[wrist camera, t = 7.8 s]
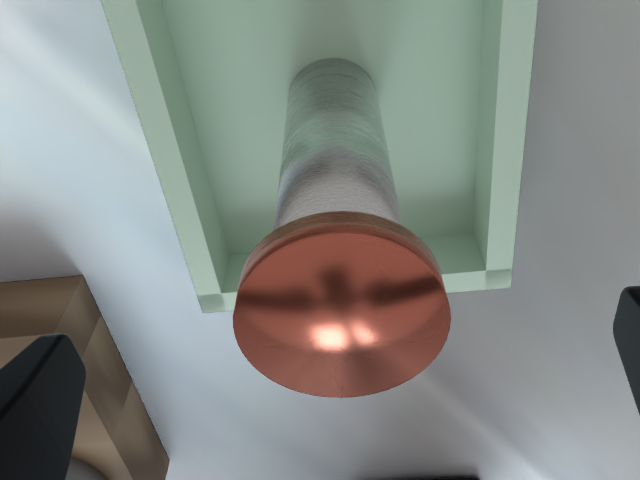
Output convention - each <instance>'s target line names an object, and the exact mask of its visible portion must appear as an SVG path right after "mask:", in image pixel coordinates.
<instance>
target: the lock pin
mask: <svg viewBox="0 0 640 480" xmlns="http://www.w3.org/2000/svg"><path fill="white" fill-rule="evenodd" d="M450 321H451V316H450V307H449V303H448V299H447V295H446V291H445V287H444V283H443V279H442V275H441V271H440V268H439V265H438V263H437V261H436V258H435V256H434V255H433V253H432V252H431V250H430V249H429V247H428V246H427V245H426V244H425V243H424V242H423V241H422V240H421V239H420V238H419V237H418V236H416V235H415V234H414V233H413V232H411V231H410V230H408V229H407V228H405V227H403V226H402V221H401V216H400V211H399V205H398V200H397V195H396V190H395V185H394V179H393V174H392V169H391V164H390V158H389V153H388V148H387V143H386V138H385V132H384V127H383V122H382V117H381V111H380V106H379V101H378V96H377V91H376V87H375V85H374V82H373V80H372V79H371V77H370V76H369V74H368V73H367V72H366V71H365V70H364V69H363V68H362V67H360V66H359V65H357V64H356V63H354V62H352V61H349V60H346V59H341V58H326V59H321V60H318V61H315V62H313V63H311V64H309V65H308V66H306V67H305V68H304V69H302V70H301V71H300V72H299V73H298V74H297V76H296V77H295V79H294V80H293V82H292V84H291V87H290V90H289V95H288V103H287V112H286V121H285V130H284V139H283V148H282V157H281V167H280V176H279V185H278V194H277V203H276V212H275V221H274V230H273V232H271V233H270V234H269V235H267V236H266V237H265V238H264V239H263V240H262V241H261V242H260V243H258V244H257V245H256V247H255V248H254V249H253V250H252V252H251V253H250V254H249V256H248V258H247V260H246V261H245V263H244V265H243V268H242V271H241V274H240V279H239V285H238V291H237V297H236V303H235V308H234V314H233V328H234V333H235V337H236V340H237V343H238V345H239V347H240V349H241V351H242V353H243V354H244V356H245V357H246V358H247V360H248V361H249V362H250V363H251V364H252V365H253V366H254V367H255V368H256V369H257V370H258V371H259V372H261V373H262V374H263V375H265V376H266V377H267V378H269V379H271V380H272V381H274V382H276V383H278V384H280V385H282V386H284V387H287V388H289V389H292V390H295V391H298V392H301V393H305V394H310V395H315V396H322V397H335V398H342V397H357V396H365V395H370V394H374V393H378V392H382V391H385V390H388V389H391V388H393V387H396V386H398V385H400V384H402V383H404V382H406V381H408V380H410V379H411V378H413V377H414V376H416V375H417V374H419V373H420V372H421V371H423V370H424V369H425V368H426V367H427V366H428V365H429V364H430V363H431V362H432V361H433V360H434V359H435V358H436V357H437V355H438V354H439V352H440V351H441V349H442V348H443V346H444V343H445V341H446V339H447V336H448V333H449V329H450Z"/></svg>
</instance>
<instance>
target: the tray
mask: <svg viewBox="0 0 640 480" xmlns="http://www.w3.org/2000/svg"><path fill="white" fill-rule="evenodd" d="M101 3H102V6H103V9H104V12H105V15H106V18H107V21H108V24H109V28H110V31H111V34H112V37H113V40H114V43H115V46H116V49H117V52H118V55H119V58H120V61H121V64H122V67H123V70H124V74H125V77H126V80H127V83H128V86H129V89H130V92H131V95H132V98H133V101H134V104H135V107H136V110H137V113H138V116H139V120H140V123H141V126H142V129H143V132H144V135H145V138H146V141H147V144H148V147H149V150H150V153H151V156H152V159H153V162H154V166H155V169H156V172H157V175H158V178H159V181H160V184H161V187H162V190H163V193H164V196H165V199H166V202H167V205H168V208H169V211H170V215H171V218H172V221H173V224H174V227H175V230H176V233H177V236H178V239H179V242H180V245H181V248H182V251H183V254H184V257H185V261H186V264H187V267H188V270H189V273H190V276H191V279H192V282H193V285H194V288H195V291H196V294H197V297H198V300H199V303H200V307H201V310H202V313H213V312H225V311H234V308H235V303H236V297H237V291H238V285H239V279H240V274H241V271H242V268H243V265H244V263H245V261H246V260H247V258H248V256H249V254H250V253H251V252H252V250H253V249H254V248H255V247H256V245H257V244H258V243H260V242H261V241H262V240H263V239H264V238H265V237H266V236H267V235H269V234H270V233H271V232H273V230H274V221H275V212H276V203H277V194H278V185H279V176H280V167H281V157H282V148H283V139H284V130H285V121H286V112H287V103H288V95H289V90H290V87H291V84H292V82H293V80H294V79H295V77H296V76H297V74H298V73H299V72H300V71H301V70H302V69H304V68H305V67H306V66H308V65H309V64H311V63H313V62H315V61H318V60H321V59H326V58H341V59H346V60H349V61H352V62H354V63H356V64H357V65H359V66H360V67H362V68H363V69H364V70H365V71H366V72H367V73H368V74H369V76H370V77H371V79H372V80H373V82H374V85H375V87H376V91H377V96H378V101H379V106H380V111H381V117H382V122H383V127H384V132H385V138H386V143H387V148H388V153H389V158H390V164H391V169H392V174H393V179H394V185H395V190H396V195H397V200H398V205H399V211H400V216H401V221H402V226H403V227H405V228H407V229H408V230H410V231H411V232H413V233H414V234H415V235H416V236H418V237H419V238H420V239H421V240H422V241H423V242H424V243H425V244H426V245H427V246H428V247H429V249H430V250H431V252H432V253H433V255H434V256H435V258H436V261H437V263H438V265H439V268H440V271H441V275H442V279H443V283H444V287H445V291H446V293H453V292H465V291H477V290H489V289H501V288H510V286H511V276H512V265H513V255H514V245H515V234H516V224H517V214H518V203H519V193H520V183H521V172H522V162H523V152H524V141H525V131H526V121H527V110H528V100H529V89H530V79H531V69H532V58H533V48H534V38H535V27H536V17H537V7H538V0H101Z"/></svg>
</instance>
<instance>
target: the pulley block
mask: <svg viewBox="0 0 640 480" xmlns="http://www.w3.org/2000/svg"><path fill="white" fill-rule="evenodd" d="M55 333H65V334H67V335H68V336H69V337H70V338H71V340H72V342H73V344H74V345H75V347H76V349H77V351H78V353H79V355H80V357H81V359H82V360H83V362H84V365H85V368H86V382H85V388H84V393H83V398H82V403H81V409H80V414H79V419H78V425H77V430H76V435H75V441H74V446H73V451H72V456H71V460H70V464H69V468H68V471H67V475H66V478H65V480H165V478H166V474H167V470H168V465H169V459H168V456H167V454H166V452H165V450H164V448H163V446H162V444H161V442H160V439H159V437H158V435H157V433H156V431H155V429H154V427H153V424H152V422H151V420H150V418H149V416H148V414H147V412H146V409H145V407H144V405H143V403H142V401H141V399H140V397H139V394H138V392H137V390H136V388H135V386H134V384H133V382H132V380H131V377H130V375H129V373H128V371H127V369H126V367H125V365H124V362H123V360H122V358H121V356H120V354H119V352H118V350H117V347H116V345H115V343H114V341H113V339H112V337H111V335H110V332H109V330H108V328H107V326H106V324H105V322H104V320H103V318H102V315H101V313H100V311H99V309H98V307H97V305H96V303H95V300H94V298H93V296H92V294H91V292H90V290H89V288H88V285H87V283H86V281H85V279H84V277H83V276H73V277H62V278H50V279H39V280H28V281H17V282H6V283H0V369H1V368H2V367H3V366H4V365H6V364H7V363H8V362H9V361H10V360H12V359H13V358H14V357H15V356H16V355H17V354H19V353H20V352H21V351H22V350H23V349H25V348H26V347H27V346H28V345H29V344H31V343H32V342H33V341H34V340H35V339H37V338H38V337H39V336H41V335H45V334H55Z"/></svg>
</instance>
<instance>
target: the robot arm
mask: <svg viewBox="0 0 640 480" xmlns="http://www.w3.org/2000/svg"><path fill="white" fill-rule="evenodd" d="M613 334H614V339H615V342H616V345H617V348H618V351H619V354H620V357H621V360H622V363H623V366H624V369H625V372H626V375H627V378H628V381H629V384H630V388H631V391H632V394H633V397H634V400H635V403H636V406H637V409H638V412H639V414H640V286H630V287H626V288H624V289H623V291H622V292H621V295H620V299H619V303H618V307H617V311H616V315H615V319H614V323H613ZM85 382H86V368H85V365H84V362H83V360H82V359H81V357H80V355H79V353H78V351H77V349H76V347H75V345H74V344H73V342H72V340H71V338H70V337H69V336H68V335H67V334H65V333H55V334H45V335H41V336H39V337H38V338H37V339H35V340H34V341H33V342H32V343H31V344H29V345H28V346H27V347H26V348H25V349H23V350H22V351H21V352H20V353H19V354H17V355H16V356H15V357H14V358H13V359H12V360H10V361H9V362H8V363H7V364H6V365H4V366H3V367H2V368H1V369H0V480H65V478H66V475H67V471H68V468H69V464H70V460H71V456H72V451H73V446H74V441H75V435H76V430H77V425H78V419H79V414H80V409H81V403H82V398H83V393H84V388H85ZM441 480H480V479H478V478H458V479H441Z"/></svg>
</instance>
